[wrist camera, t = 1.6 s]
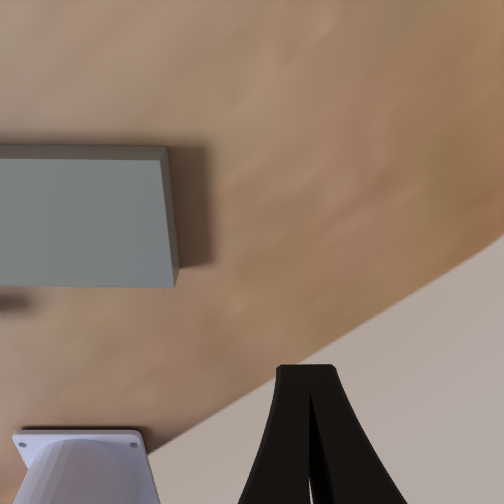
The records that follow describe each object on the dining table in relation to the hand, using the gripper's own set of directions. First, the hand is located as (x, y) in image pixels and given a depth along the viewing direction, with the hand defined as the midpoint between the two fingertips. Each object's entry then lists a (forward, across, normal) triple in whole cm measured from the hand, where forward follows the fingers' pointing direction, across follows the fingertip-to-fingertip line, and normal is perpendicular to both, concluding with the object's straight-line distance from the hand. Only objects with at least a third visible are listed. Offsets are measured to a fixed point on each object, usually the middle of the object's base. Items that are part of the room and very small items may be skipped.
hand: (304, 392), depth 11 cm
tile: (+10, +10, 0) cm, 14 cm away
